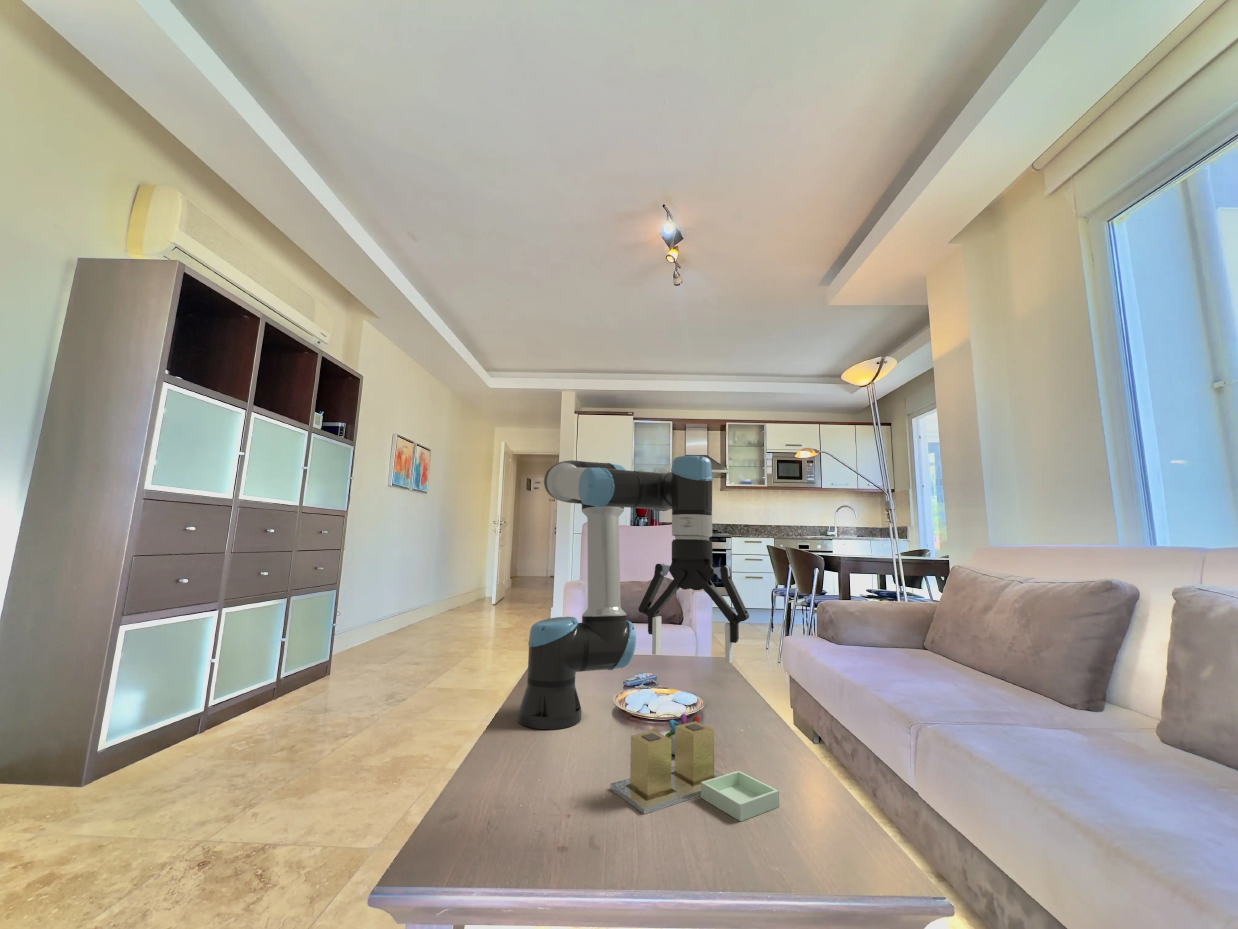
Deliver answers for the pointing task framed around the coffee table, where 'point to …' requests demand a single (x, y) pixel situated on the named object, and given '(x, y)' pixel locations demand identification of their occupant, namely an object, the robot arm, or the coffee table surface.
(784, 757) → the coffee table surface
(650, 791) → the brass block
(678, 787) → the grey frame plate
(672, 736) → the colorful toy
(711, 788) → the tray
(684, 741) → the tan textured tower
